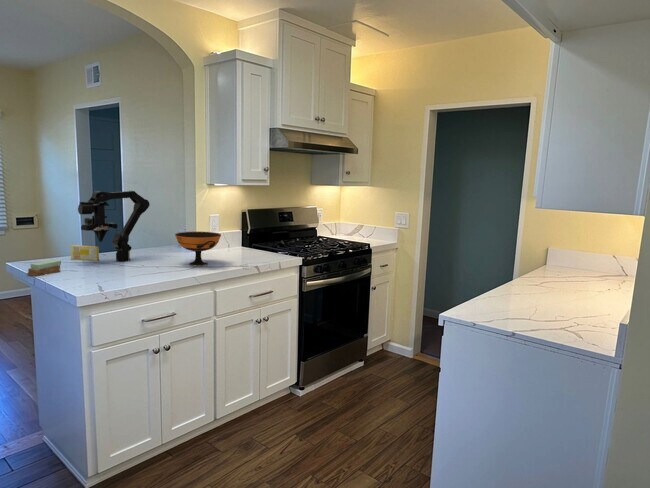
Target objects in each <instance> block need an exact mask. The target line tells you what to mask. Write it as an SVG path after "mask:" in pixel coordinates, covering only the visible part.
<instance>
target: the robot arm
mask: <svg viewBox="0 0 650 488" xmlns="http://www.w3.org/2000/svg"><path fill="white" fill-rule="evenodd" d="M117 199H119V200H120V199H130V200H131V201H132V203H134V204H133V210H132V212H131V214H130V216H129V217H128V220H126V223H125V225H124V226H123V228H122V230H121V231H120V232H119V233H117V232H116V233H115V234H114V235H113V236H114V237H112V241H111V243H112V246H113V247H114V248H115V250H116V252H115V261H116V262H129V261H131V255H130V253H131V250H132V246H131V245H130V244H129V240H130V234H131V233H132V231H133V230H134V228H135V226H136V224H137V223H138V221H139V219H140V217H141V216H142V215H143V214H144V213H145V212H146V211H147V210H148V209H149V208H150V206H151V204H150V201H149V200H148V199H145V198H144V197H143V196H142V195H140V194H138V193H137V192H136V191H135V190H126V191H112V192H111V191H110V192H109V191H101V190H100V191H99V190H95V191H93V192H92V194H91V197H90V198H89V199H88V201H79V204H78V207H77V212H78V214H79V215H82V216H83V215H92V214H93V215H92V216H91V218H89V217H85V218H84V224H82V225H81V226H80V228H81V230H82V231H92V232H93V233H95V235H96V237H97V240H98V242H99V243H102V242H103V240H104V238H105V236H106V234H107V232H108V231H110V228H112V229H113V230H114V229H118V228H119V227H118V226H119V225H118V223H117V222H116V223H115V222H106V221H107V220H106V219H107V218H108V216H107V215H106V207H109V206H110V204H109V203H108V202H107V201H110V200H117ZM108 228H109V229H108Z"/></svg>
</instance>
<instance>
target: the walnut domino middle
mask: <svg viewBox="0 0 650 488" xmlns="http://www.w3.org/2000/svg"><path fill="white" fill-rule="evenodd" d="M27 270H28V271H27V273H33V274H38V273H43V272H49V271H54V270H61V265H57V266H52V267H47V268H43V269H33V268H31V267H30V268H28V269H27Z"/></svg>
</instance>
